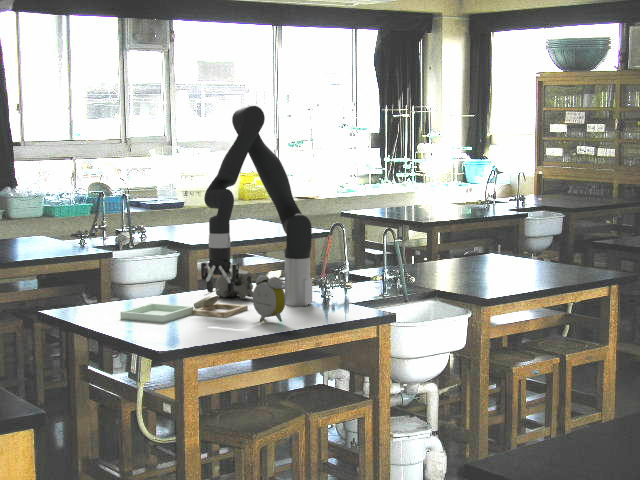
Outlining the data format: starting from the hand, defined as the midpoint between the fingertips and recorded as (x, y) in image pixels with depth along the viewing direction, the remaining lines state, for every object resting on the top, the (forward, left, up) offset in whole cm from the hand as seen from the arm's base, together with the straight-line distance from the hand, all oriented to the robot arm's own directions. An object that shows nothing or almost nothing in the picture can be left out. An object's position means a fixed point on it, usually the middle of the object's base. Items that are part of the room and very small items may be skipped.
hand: (220, 292), depth 363 cm
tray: (+15, +16, -7) cm, 23 cm away
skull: (+9, -29, -7) cm, 31 cm away
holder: (0, 0, -7) cm, 7 cm away
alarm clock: (-23, +8, -7) cm, 25 cm away
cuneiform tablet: (+1, +1, -2) cm, 2 cm away
